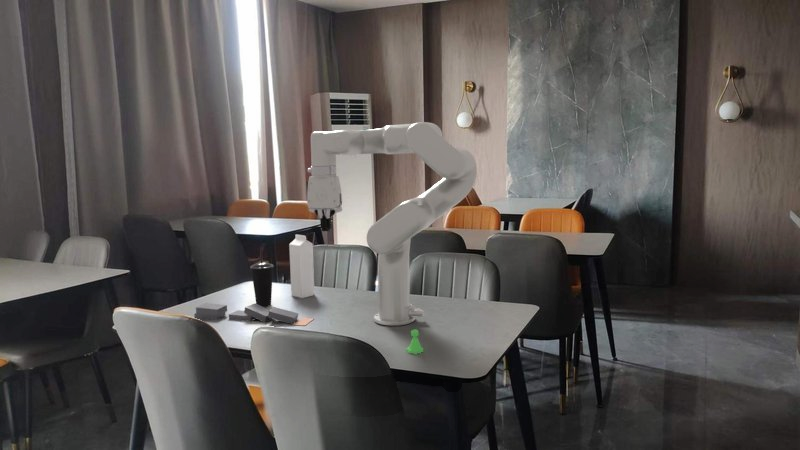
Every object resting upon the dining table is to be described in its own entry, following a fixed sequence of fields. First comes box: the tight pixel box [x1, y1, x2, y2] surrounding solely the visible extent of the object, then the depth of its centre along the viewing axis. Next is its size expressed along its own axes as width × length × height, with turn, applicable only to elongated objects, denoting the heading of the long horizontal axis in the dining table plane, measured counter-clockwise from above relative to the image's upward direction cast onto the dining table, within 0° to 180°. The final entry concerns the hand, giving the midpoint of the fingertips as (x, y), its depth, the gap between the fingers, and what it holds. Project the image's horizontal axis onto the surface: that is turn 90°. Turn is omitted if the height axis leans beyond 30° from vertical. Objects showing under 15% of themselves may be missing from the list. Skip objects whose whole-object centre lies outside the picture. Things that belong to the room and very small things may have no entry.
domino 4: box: [243, 303, 272, 323], centre depth 188 cm, size 2×5×8 cm
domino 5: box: [268, 306, 299, 325], centre depth 185 cm, size 2×5×8 cm
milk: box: [288, 234, 316, 299], centre depth 215 cm, size 6×6×22 cm
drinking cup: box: [250, 246, 274, 308], centre depth 203 cm, size 8×8×20 cm
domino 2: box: [194, 312, 226, 320], centre depth 192 cm, size 2×5×8 cm
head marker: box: [292, 317, 314, 327], centre depth 184 cm, size 4×7×1 cm, turn 167°
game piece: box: [406, 328, 424, 355], centre depth 156 cm, size 4×4×6 cm
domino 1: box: [195, 302, 228, 316], centre depth 191 cm, size 2×5×8 cm
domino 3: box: [228, 309, 257, 322], centre depth 190 cm, size 2×5×8 cm
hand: (326, 230), depth 188 cm, fingers closed
